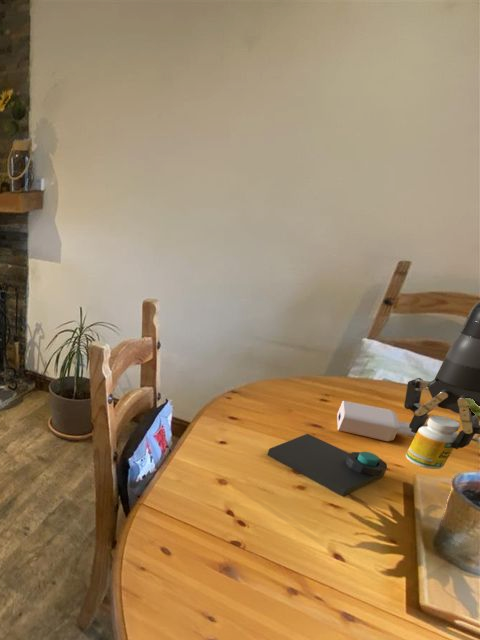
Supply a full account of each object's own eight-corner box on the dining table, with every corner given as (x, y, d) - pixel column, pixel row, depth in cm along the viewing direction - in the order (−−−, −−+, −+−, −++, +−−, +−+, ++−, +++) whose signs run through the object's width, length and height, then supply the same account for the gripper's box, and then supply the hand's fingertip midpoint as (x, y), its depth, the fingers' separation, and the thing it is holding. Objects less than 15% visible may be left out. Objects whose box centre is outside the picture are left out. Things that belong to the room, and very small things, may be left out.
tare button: (379, 464, 84) (383, 457, 83) (371, 468, 83) (373, 462, 82) (362, 456, 86) (365, 449, 86) (353, 460, 85) (356, 453, 85)
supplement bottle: (412, 450, 86) (431, 410, 82) (448, 464, 82) (471, 422, 77) (399, 459, 84) (419, 419, 79) (436, 473, 80) (459, 431, 75)
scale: (386, 478, 84) (393, 464, 83) (345, 498, 80) (351, 484, 79) (306, 439, 97) (311, 427, 96) (266, 455, 93) (271, 442, 91)
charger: (425, 452, 91) (337, 432, 99) (418, 432, 97) (336, 414, 106) (435, 434, 89) (344, 415, 97) (427, 415, 95) (343, 398, 104)
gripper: (412, 350, 77) (378, 426, 85) (529, 380, 65) (477, 465, 73) (435, 342, 80) (400, 417, 87) (552, 369, 68) (499, 453, 75)
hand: (435, 438), depth 80 cm, fingers closed on supplement bottle, 5 cm apart
